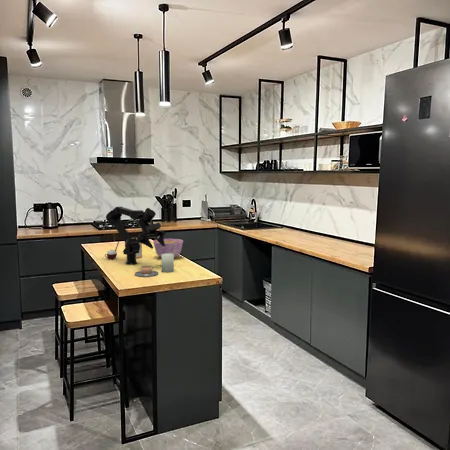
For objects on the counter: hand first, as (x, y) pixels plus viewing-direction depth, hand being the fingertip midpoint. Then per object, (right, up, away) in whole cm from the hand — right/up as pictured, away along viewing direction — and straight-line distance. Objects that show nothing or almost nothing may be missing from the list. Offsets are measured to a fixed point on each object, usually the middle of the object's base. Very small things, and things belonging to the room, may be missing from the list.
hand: (158, 247), depth 248 cm
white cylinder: (+6, -14, -3) cm, 15 cm away
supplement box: (-21, -9, +36) cm, 43 cm away
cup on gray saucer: (-5, -15, -11) cm, 19 cm away
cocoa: (-35, -10, +31) cm, 48 cm away
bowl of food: (+1, -9, +35) cm, 36 cm away
